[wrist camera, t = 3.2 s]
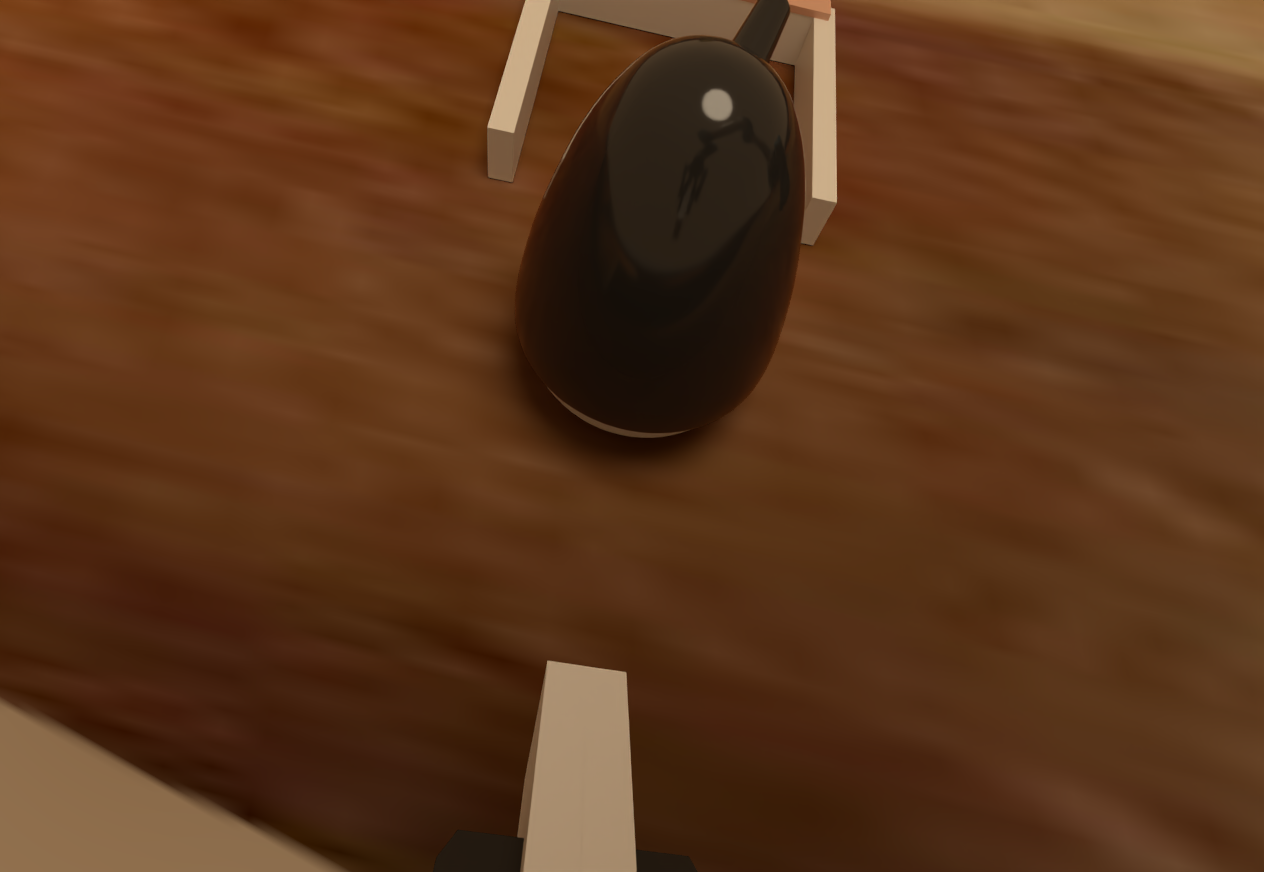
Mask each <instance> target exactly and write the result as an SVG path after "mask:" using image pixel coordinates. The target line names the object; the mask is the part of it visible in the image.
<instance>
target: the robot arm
mask: <svg viewBox="0 0 1264 872" xmlns="http://www.w3.org/2000/svg"><path fill="white" fill-rule="evenodd" d="M433 872H697V870H696V868H695V866H694V865H693V863H692V861H691V859H690V858H689V856H682V855H674V854H666V853H658V852H650V851H642V850H636V849H635V830H634V811H633V792H632V773H631V754H630V735H629V716H628V697H627V678H626V672H621V671H614V670H607V669H600V668H594V667H587V666H580V665H573V664H567V663H560V662H553V661H547V666H546V672H545V677H544V682H543V687H542V692H541V697H540V703H539V708H538V713H537V718H536V723H535V729H534V734H533V739H532V744H531V749H530V755H529V760H528V765H527V770H526V775H525V782H524V790H523V797H522V805H521V813H520V820H519V828H518V835H517V837H511V836H503V835H495V834H487V833H479V832H471V831H463V830H457V832H456V833H455V834H454V835H453V837H452V838H451V839H450V841H449V842H448V843H447V845H446V846H445V847H444V848H443V850H442V851H441V852H440V854H439V855H438V856H437V858H436V862H435V866H434V870H433Z"/></svg>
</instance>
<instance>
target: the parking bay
mask: <svg viewBox="0 0 1264 872" xmlns="http://www.w3.org/2000/svg"><path fill="white" fill-rule="evenodd" d="M756 2H757V0H526V1H525V4H524V7H523V11H522V14H521V17H520V21H519V24H518V27H517V31H516V34H515V37H514V40H513V44H512V47H511V50H510V54H509V57H508V60H507V64H506V67H505V70H504V74H503V77H502V80H501V84H500V87H499V90H498V94H497V97H496V100H495V103H494V107H493V110H492V113H491V117H490V120H489V123H488V127H487V143H488V177H489V178H493V179H498V180H503V181H508V182H513V179H514V175H515V172H516V168H517V164H518V160H519V157H520V153H521V149H522V145H523V142H524V138H525V134H526V130H527V126H528V123H529V119H530V115H531V111H532V108H533V104H534V100H535V96H536V93H537V89H538V85H539V81H540V78H541V74H542V70H543V66H544V62H545V59H546V55H547V51H548V47H549V44H550V40H551V36H552V32H553V29H554V25H555V21H556V17H557V14H558V11H561V12H566V13H570V14H574V15H579V16H583V17H587V18H592V19H596V20H600V21H605V22H609V23H613V24H618V25H622V26H626V27H631V28H635V29H639V30H644V31H648V32H652V33H657V34H661V35H665V36H669V37H674V38H678V37H683V36H690V35H709V36H717V37H722V38H726V39H729V40H733V38H734V36H735V35H736V33H737V32H738V30H739V29H740V27H741V25H742V24H743V22H744V21H745V19H746V17H747V16H748V14H749V13H750V11H751V10H752V8H753V6H754V5H755V3H756ZM788 2H789V5H790V15H789V17H788V20H787V22H786V24H785V27H784V29H783V31H782V34H781V36H780V38H779V41H778V43H777V45H776V48H775V50H774V52H773V55H772V57H771V59H770V60H773V61H778V62H782V63H786V64H790V65H795V79H794V108H795V111H796V115H797V118H798V122H799V127H800V131H801V137H802V143H803V150H804V159H805V182H806V191H805V212H804V222H803V231H802V239H801V243H803V244H808V245H813V244H814V243H815V241H816V239H817V237H818V236H819V234H820V232H821V230H822V228H823V227H824V225H825V223H826V221H827V219H828V218H829V216H830V214H831V212H832V211H833V209H834V207H835V205H836V203H837V167H836V72H835V9H832V8H831V0H788Z"/></svg>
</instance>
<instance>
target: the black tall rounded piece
mask: <svg viewBox="0 0 1264 872" xmlns="http://www.w3.org/2000/svg"><path fill="white" fill-rule="evenodd" d="M789 15H790V5H789V2H788V0H757V2H756V3H755V5H754V6H753V8H752V10H751V11H750V13H749V14H748V16H747V17H746V19H745V21H744V22H743V24H742V25H741V27H740V29H739V30H738V32H737V33H736V35H735V36H734V38H733V40H729V39H726V38H722V37H717V36H709V35H690V36H683V37H678V38H675V39H671V40H669V41H666V42H664V43H661V44H659V45H657V46H656V47H654V48H652V49H650V50H649V51H647V52H646V53H644V54H643V55H642V56H640V57H639V58H638V59H636V60H635V61H634V62H633V63H632V64H630V65H629V66H628V67H627V68H626V69H625V70H624V71H623V72H622V73H621V74H620V75H619V76H618V77H617V78H616V79H615V80H614V81H613V82H612V83H611V84H610V85H609V86H608V87H607V88H606V90H605V91H604V92H603V93H602V94H601V96H600V97H599V98H598V99H597V101H596V102H595V103H594V105H593V106H592V108H591V109H590V110H589V112H588V113H587V115H586V116H585V118H584V119H583V121H582V122H581V124H580V125H579V127H578V129H577V130H576V132H575V134H574V136H573V137H572V139H571V141H570V143H569V145H568V146H567V148H566V150H565V152H564V154H563V156H562V158H561V160H560V162H559V164H558V166H557V168H556V170H555V172H554V174H553V176H552V179H551V181H550V183H549V185H548V187H547V189H546V191H545V194H544V196H543V198H542V201H541V203H540V206H539V208H538V211H537V213H536V216H535V219H534V222H533V224H532V227H531V231H530V234H529V237H528V240H527V243H526V247H525V250H524V254H523V258H522V262H521V265H520V270H519V274H518V280H517V286H516V296H515V321H516V328H517V333H518V337H519V341H520V344H521V347H522V349H523V352H524V354H525V356H526V358H527V360H528V362H529V364H530V365H531V367H532V368H533V370H534V371H535V373H536V374H537V375H538V377H539V378H540V379H541V380H542V382H543V383H544V384H545V385H546V386H547V388H548V389H549V390H550V391H551V393H552V394H553V395H554V396H555V397H556V398H557V399H558V400H559V401H560V402H561V403H562V404H563V405H564V406H565V407H566V408H567V409H568V410H569V411H571V412H572V413H573V414H575V415H576V416H578V417H579V418H581V419H582V420H584V421H586V422H587V423H589V424H591V425H593V426H596V427H598V428H600V429H603V430H605V431H608V432H611V433H615V434H619V435H624V436H630V437H640V438H655V437H664V436H670V435H675V434H679V433H682V432H685V431H688V430H691V429H694V428H698V427H701V426H704V425H707V424H709V423H712V422H714V421H716V420H718V419H720V418H721V417H723V416H725V415H726V414H728V413H730V412H731V411H732V410H734V409H735V408H736V407H737V406H739V405H740V404H741V403H742V402H743V401H744V400H745V399H746V398H747V397H748V396H749V395H750V393H751V392H752V391H753V390H754V388H755V387H756V385H757V384H758V382H759V381H760V379H761V377H762V376H763V374H764V372H765V370H766V369H767V367H768V365H769V363H770V360H771V358H772V356H773V354H774V351H775V348H776V346H777V343H778V340H779V337H780V334H781V331H782V328H783V325H784V321H785V318H786V315H787V311H788V308H789V304H790V300H791V296H792V292H793V288H794V283H795V278H796V272H797V267H798V260H799V254H800V247H801V239H802V231H803V222H804V212H805V191H806V182H805V159H804V150H803V143H802V137H801V131H800V127H799V122H798V118H797V115H796V111H795V108H794V105H793V102H792V99H791V97H790V94H789V92H788V90H787V88H786V86H785V84H784V83H783V81H782V80H781V78H780V77H779V75H778V74H777V73H776V72H775V70H774V69H773V68H772V67H771V66H770V65H769V62H770V59H771V57H772V55H773V52H774V50H775V48H776V45H777V43H778V41H779V38H780V36H781V34H782V31H783V29H784V27H785V24H786V22H787V20H788V17H789Z"/></svg>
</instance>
